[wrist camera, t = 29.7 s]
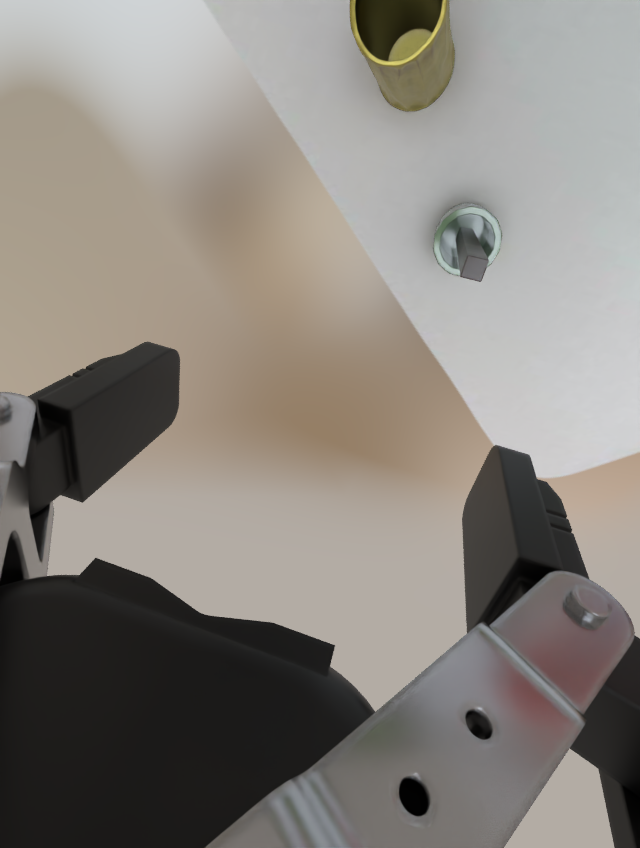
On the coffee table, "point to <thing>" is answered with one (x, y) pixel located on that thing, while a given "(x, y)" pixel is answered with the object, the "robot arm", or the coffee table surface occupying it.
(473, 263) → the stirring stick
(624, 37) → the coffee table surface
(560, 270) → the coffee table surface
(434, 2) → the vase
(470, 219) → the holder
